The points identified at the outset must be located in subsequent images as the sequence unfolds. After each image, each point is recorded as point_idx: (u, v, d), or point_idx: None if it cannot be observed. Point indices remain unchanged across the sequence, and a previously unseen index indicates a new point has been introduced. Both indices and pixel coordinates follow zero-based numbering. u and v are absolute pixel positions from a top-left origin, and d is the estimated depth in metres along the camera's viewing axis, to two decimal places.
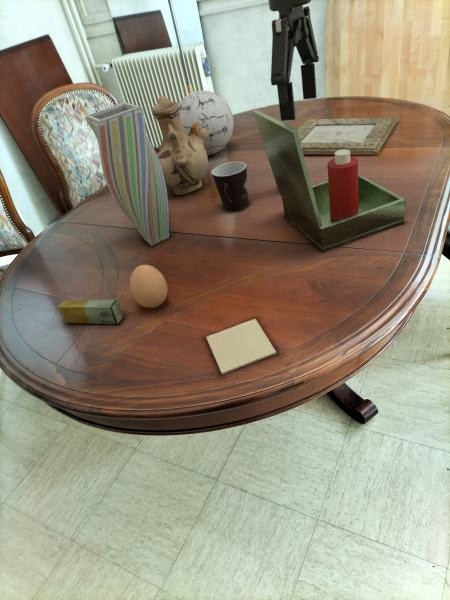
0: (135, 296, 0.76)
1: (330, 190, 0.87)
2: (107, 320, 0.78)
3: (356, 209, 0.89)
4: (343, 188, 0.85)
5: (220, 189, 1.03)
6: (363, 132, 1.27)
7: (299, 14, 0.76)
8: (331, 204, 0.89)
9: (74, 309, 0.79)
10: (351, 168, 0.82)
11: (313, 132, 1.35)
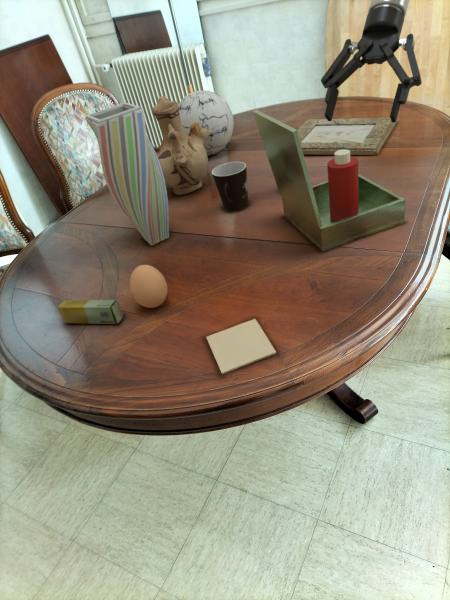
0: (135, 296, 0.76)
1: (330, 190, 0.87)
2: (107, 320, 0.78)
3: (356, 209, 0.89)
4: (343, 188, 0.85)
5: (220, 189, 1.03)
6: (363, 132, 1.27)
7: (383, 38, 0.85)
8: (331, 204, 0.89)
9: (74, 309, 0.79)
10: (351, 168, 0.82)
11: (314, 132, 1.35)
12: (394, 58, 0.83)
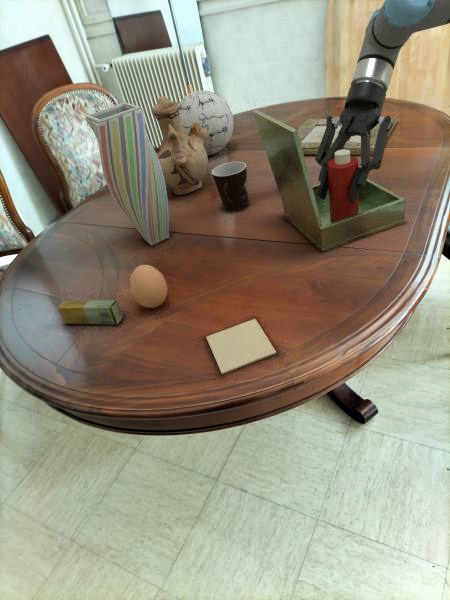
0: (135, 296, 0.76)
1: (330, 190, 0.87)
2: (106, 321, 0.78)
3: (356, 209, 0.89)
4: (343, 188, 0.85)
5: (220, 189, 1.03)
6: None
7: (364, 112, 0.84)
8: (331, 204, 0.89)
9: (74, 309, 0.79)
10: (351, 168, 0.82)
11: (314, 132, 1.35)
12: (365, 137, 0.83)
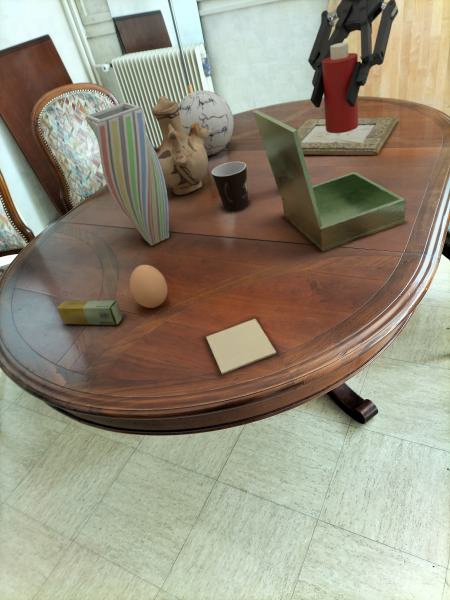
0: (135, 296, 0.76)
1: (325, 94, 0.76)
2: (106, 321, 0.78)
3: (355, 118, 0.77)
4: (341, 89, 0.73)
5: (220, 189, 1.03)
6: (363, 132, 1.27)
7: None
8: (327, 112, 0.78)
9: (73, 310, 0.79)
10: (350, 62, 0.71)
11: (314, 132, 1.35)
12: (365, 27, 0.72)
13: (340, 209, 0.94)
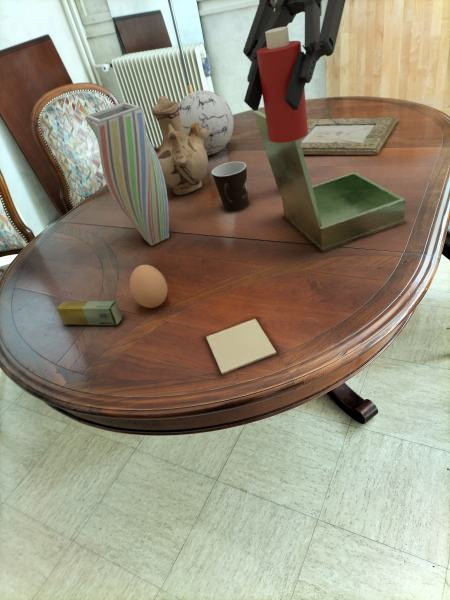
0: (135, 296, 0.76)
1: (263, 93, 0.60)
2: (106, 322, 0.78)
3: (303, 123, 0.61)
4: (280, 87, 0.57)
5: (220, 189, 1.03)
6: (363, 132, 1.27)
7: None
8: (267, 117, 0.61)
9: (73, 310, 0.78)
10: (289, 51, 0.55)
11: (314, 132, 1.35)
12: (311, 7, 0.55)
13: (340, 209, 0.94)
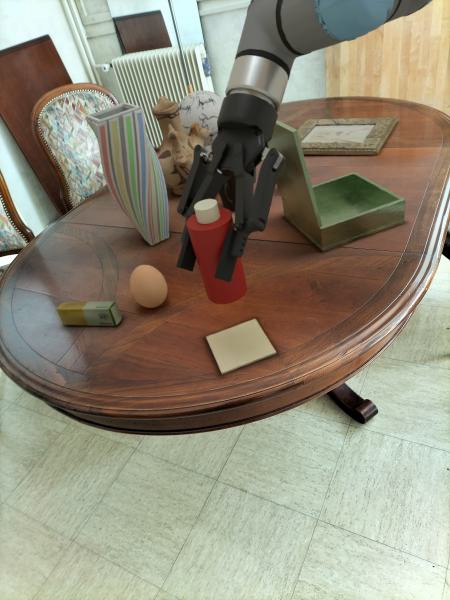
0: (135, 296, 0.76)
1: None
2: (106, 322, 0.78)
3: (239, 286, 0.58)
4: (212, 260, 0.54)
5: (220, 189, 1.03)
6: (363, 132, 1.27)
7: (242, 141, 0.53)
8: (202, 278, 0.58)
9: (73, 311, 0.78)
10: (218, 230, 0.52)
11: (314, 132, 1.35)
12: (241, 181, 0.53)
13: (340, 209, 0.94)
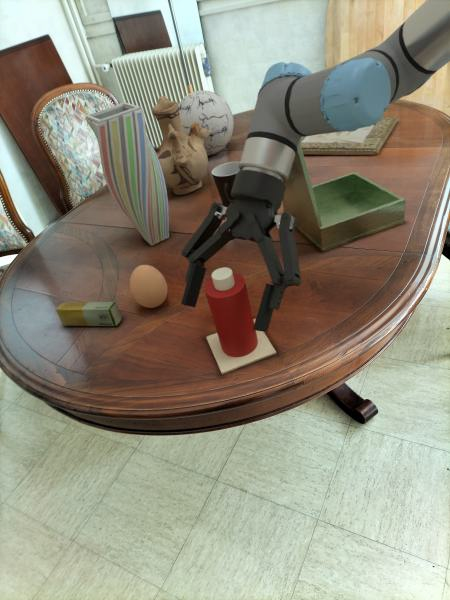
0: (135, 296, 0.76)
1: (213, 318, 0.63)
2: (105, 322, 0.78)
3: (251, 342, 0.64)
4: (227, 321, 0.60)
5: (220, 189, 1.03)
6: (363, 132, 1.27)
7: (254, 211, 0.59)
8: None
9: (72, 311, 0.78)
10: (233, 297, 0.58)
11: None
12: (264, 244, 0.57)
13: (340, 209, 0.94)
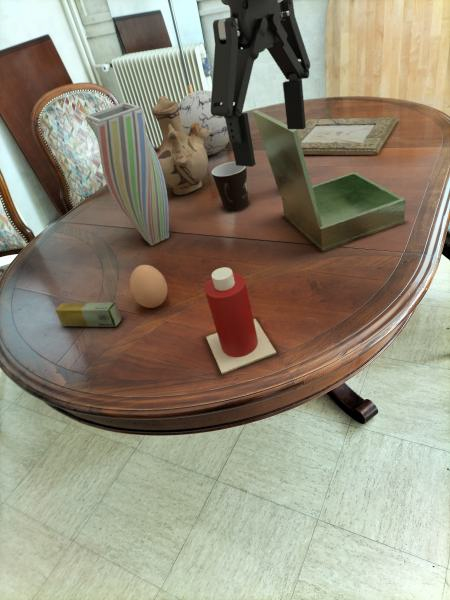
0: (135, 296, 0.76)
1: (213, 318, 0.63)
2: (105, 323, 0.78)
3: (251, 342, 0.64)
4: (227, 321, 0.60)
5: (220, 189, 1.03)
6: (363, 132, 1.27)
7: (267, 9, 0.50)
8: None
9: (72, 312, 0.78)
10: (233, 297, 0.58)
11: (314, 132, 1.35)
12: (286, 43, 0.54)
13: (340, 209, 0.94)
